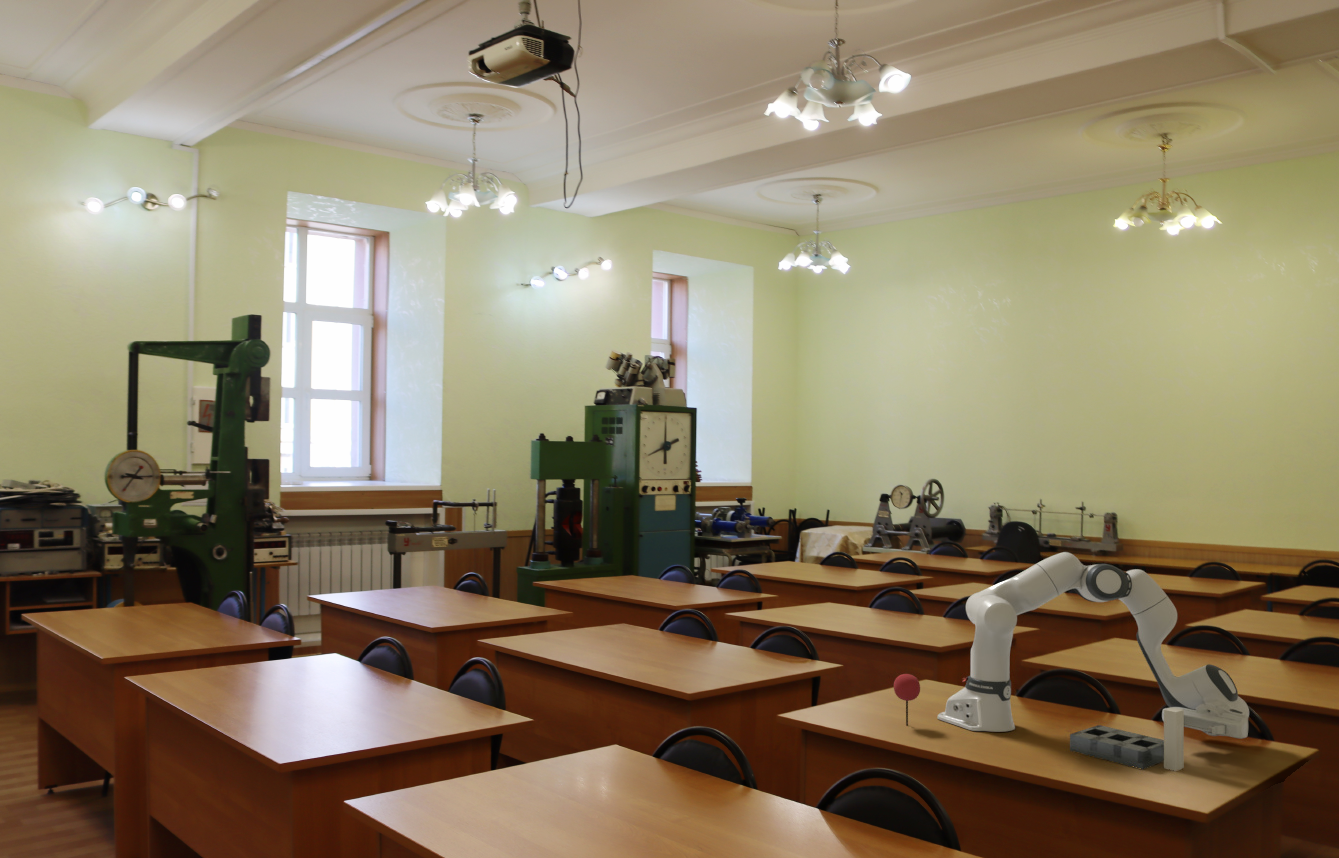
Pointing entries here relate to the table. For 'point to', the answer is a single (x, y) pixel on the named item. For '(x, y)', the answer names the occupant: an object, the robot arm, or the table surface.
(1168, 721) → the clay bar
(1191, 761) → the table surface
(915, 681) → the lollipop
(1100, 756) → the rack
